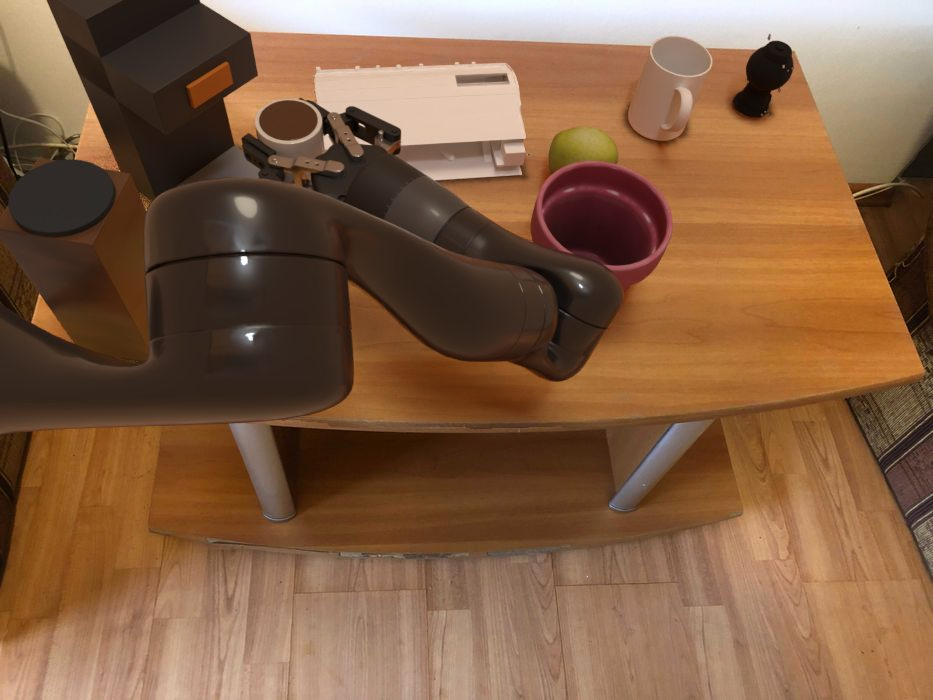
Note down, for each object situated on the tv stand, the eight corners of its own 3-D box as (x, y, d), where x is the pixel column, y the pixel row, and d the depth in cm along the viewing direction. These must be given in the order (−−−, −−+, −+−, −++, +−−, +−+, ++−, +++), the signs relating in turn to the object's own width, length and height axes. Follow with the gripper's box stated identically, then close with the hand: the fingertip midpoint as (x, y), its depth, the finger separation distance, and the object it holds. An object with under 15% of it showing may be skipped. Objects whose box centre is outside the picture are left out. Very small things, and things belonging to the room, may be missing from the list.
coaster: (-8, 227, 59) (-11, 222, 58) (38, 157, 63) (35, 151, 62) (92, 244, 59) (89, 240, 58) (130, 173, 63) (128, 168, 62)
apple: (605, 217, 91) (623, 169, 84) (535, 194, 91) (547, 145, 85) (619, 174, 95) (637, 126, 88) (552, 153, 95) (564, 103, 89)
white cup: (260, 207, 73) (245, 136, 65) (277, 164, 76) (265, 92, 68) (320, 217, 73) (312, 148, 65) (334, 174, 76) (329, 103, 68)
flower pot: (642, 344, 81) (681, 274, 70) (516, 333, 81) (535, 260, 70) (633, 243, 89) (667, 166, 78) (517, 232, 88) (535, 152, 77)
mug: (624, 99, 102) (646, 32, 93) (679, 104, 103) (707, 37, 94) (633, 163, 96) (658, 98, 87) (692, 167, 96) (723, 103, 87)
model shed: (324, 187, 89) (319, 144, 83) (315, 104, 96) (311, 59, 90) (524, 175, 93) (534, 132, 87) (502, 96, 100) (509, 52, 94)
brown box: (79, 351, 75) (-8, 227, 59) (110, 288, 79) (38, 157, 63) (156, 364, 75) (92, 244, 59) (184, 301, 79) (130, 173, 63)
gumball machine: (779, 121, 103) (815, 60, 94) (743, 129, 101) (776, 67, 93) (754, 90, 106) (786, 28, 97) (719, 97, 104) (748, 34, 96)
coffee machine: (295, 191, 88) (266, 9, 68) (219, 250, 83) (163, 71, 62) (202, 127, 92) (148, -63, 72) (123, 180, 87) (41, -10, 66)
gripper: (463, 141, 65) (321, 54, 69) (353, 235, 58) (204, 132, 63) (456, 200, 71) (327, 117, 76) (356, 291, 65) (220, 194, 69)
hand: (272, 124), depth 69 cm, fingers closed on white cup, 6 cm apart
